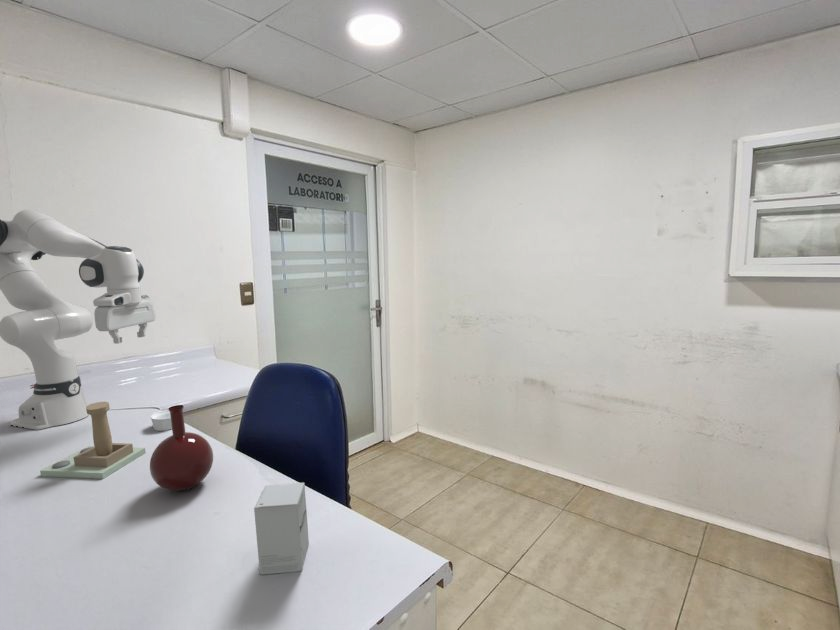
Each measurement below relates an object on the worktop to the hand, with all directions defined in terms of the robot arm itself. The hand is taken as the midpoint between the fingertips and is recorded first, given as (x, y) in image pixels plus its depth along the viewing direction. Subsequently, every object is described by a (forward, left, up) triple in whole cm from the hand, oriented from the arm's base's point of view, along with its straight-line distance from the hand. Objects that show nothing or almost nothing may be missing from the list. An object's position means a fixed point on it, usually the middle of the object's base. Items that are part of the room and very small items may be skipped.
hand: (130, 340), depth 138 cm
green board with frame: (+9, -27, -29) cm, 40 cm away
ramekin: (+11, -1, -29) cm, 31 cm away
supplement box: (+77, -57, -29) cm, 100 cm away
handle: (+12, -26, -27) cm, 40 cm away
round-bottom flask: (+42, -36, -29) cm, 62 cm away
